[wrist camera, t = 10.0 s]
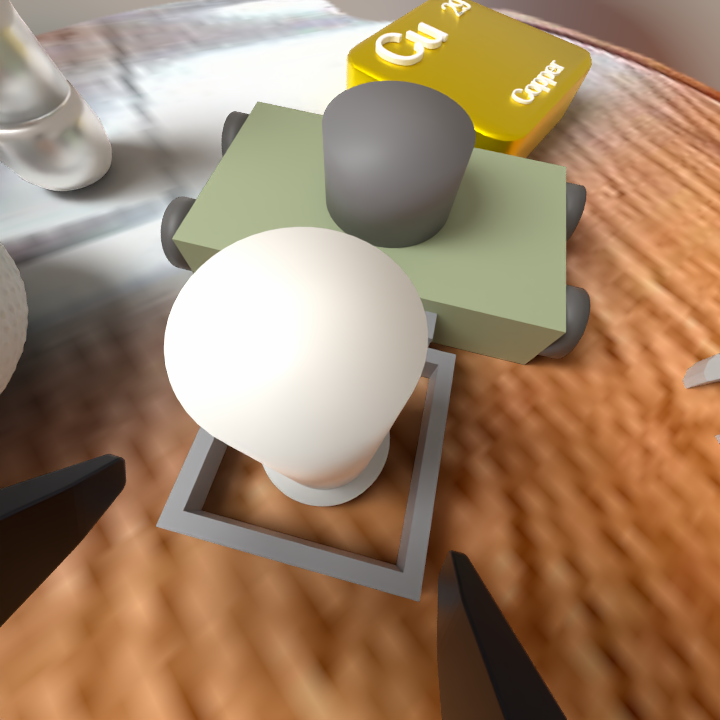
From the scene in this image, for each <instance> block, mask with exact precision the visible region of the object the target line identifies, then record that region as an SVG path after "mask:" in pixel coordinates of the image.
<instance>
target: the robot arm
mask: <svg viewBox="0 0 720 720" xmlns="http://www.w3.org/2000/svg"><path fill="white" fill-rule="evenodd" d="M125 483H126V469H125V460H124V459H123V458H122V457H119V456H115V455H111V454H107V455H103V456H100V457H97V458H94V459H91V460H88V461H85V462H82V463H79V464H76V465H73V466H70V467H67V468H64V469H60V470H57V471H54V472H51V473H48V474H45V475H42V476H39V477H36V478H33V479H30V480H27V481H24V482H21V483H18V484H15V485H12V486H9V487H5V488H2V489H0V627H1V626H2V625H3V624H4V623H5V622H6V621H7V620H8V619H9V618H10V616H11V615H12V614H13V613H14V612H15V611H16V610H17V609H18V608H19V607H20V606H21V605H22V604H23V603H24V602H25V601H26V600H27V598H28V597H29V596H30V595H31V594H32V593H33V592H34V591H35V590H36V589H37V588H38V587H39V586H40V585H41V584H42V583H43V582H44V581H45V579H46V578H47V577H48V576H49V575H50V574H51V573H52V572H53V571H54V570H55V569H56V568H57V567H58V566H59V565H60V564H61V563H62V562H63V560H64V559H65V558H66V557H67V556H68V555H69V554H70V553H71V552H72V551H73V550H74V549H75V548H76V547H77V545H78V544H79V543H80V542H81V541H82V540H83V539H84V537H85V536H86V535H87V534H88V533H89V531H90V530H91V529H92V528H93V526H94V525H95V524H96V523H97V521H98V520H99V519H100V518H101V516H102V515H103V514H104V513H105V511H106V510H107V509H108V508H109V506H110V505H111V504H112V503H113V501H114V500H115V499H116V498H117V496H118V495H119V494H120V493H121V491H122V490H123V488H124V486H125ZM437 661H438V675H439V689H440V702H441V716H442V720H567V718H566V716H565V715H564V713H563V712H562V710H561V708H560V707H559V705H558V703H557V702H556V700H555V699H554V697H553V695H552V694H551V692H550V690H549V689H548V687H547V685H546V684H545V682H544V681H543V679H542V677H541V676H540V674H539V672H538V671H537V669H536V668H535V666H534V664H533V663H532V661H531V659H530V658H529V656H528V654H527V653H526V651H525V650H524V648H523V646H522V645H521V643H520V641H519V640H518V638H517V637H516V635H515V633H514V632H513V630H512V628H511V627H510V625H509V624H508V622H507V620H506V619H505V617H504V615H503V614H502V612H501V610H500V609H499V607H498V606H497V604H496V602H495V601H494V599H493V597H492V596H491V594H490V593H489V591H488V589H487V588H486V586H485V584H484V583H483V581H482V579H481V578H480V576H479V575H478V573H477V571H476V570H475V568H474V566H473V565H472V563H471V562H470V560H469V558H468V557H467V556H466V555H465V554H464V553H460V552H457V551H453V550H451V551H449V552H448V554H447V556H446V558H445V561H444V563H443V565H442V568H441V570H440V573H439V579H438V617H437Z"/></svg>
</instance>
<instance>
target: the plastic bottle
mask: <svg viewBox="0 0 720 720" xmlns="http://www.w3.org/2000/svg"><path fill="white" fill-rule="evenodd" d="M111 161H112V147H111V143H110V141H109V139H108V136H107V134H106V132H105V130H104V128H103V125H102V123H101V121H100V119H99V118H98V116H97V115H96V114H95V112H94V111H93V110H92V109H91V107H90V106H89V105H88V103H87V102H86V101H85V100H84V98H83V97H82V96H81V95H80V94H79V93H78V91H77V90H76V89H75V88H74V87H73V86H72V85H71V83H70V82H69V81H68V80H66V78H65V77H64V76H63V74H62V73H61V71H60V70H59V69H58V67H57V66H56V65H55V63H54V62H53V61H52V59H51V58H50V56H49V55H48V54H47V52H46V51H45V50H44V48H43V47H42V46H41V44H40V43H39V41H38V40H37V39H36V37H35V36H34V35H33V33H32V32H31V31H30V29H29V28H28V26H27V25H26V24H25V22H24V21H23V20H22V18H21V17H20V16H19V14H18V13H17V11H16V10H15V8H14V7H13V5H12V3H11V2H10V0H0V162H2V163H3V164H4V165H6V166H7V167H8V168H9V169H11V170H12V171H13V172H14V173H16V174H17V175H18V176H19V177H21V178H22V179H23V180H25V181H27V182H29V183H31V184H34V185H37V186H39V187H42V188H45V189H48V190H53V191H71V190H77V189H80V188H84V187H86V186H89V185H91V184H93V183H95V182H96V181H98V180H99V179H100V178H102V177H103V176H104V175H105V174H106V172H107V171H108V170H109V168H110V166H111Z"/></svg>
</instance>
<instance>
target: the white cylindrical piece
mask: <svg viewBox="0 0 720 720" xmlns="http://www.w3.org/2000/svg"><path fill="white" fill-rule="evenodd" d="M427 348H428V327H427V320H426V315H425V311H424V308H423V304H422V302H421V299H420V297H419V295H418V292H417V290H416V289H415V287H414V285H413V284H412V282H411V280H410V279H409V277H408V276H407V275H406V274H405V272H404V271H403V270H402V269H401V268H400V267H399V266H398V265H397V264H396V263H395V262H394V261H393V260H392V259H391V258H390V257H389V256H387V255H386V254H385V253H383V252H382V251H381V250H379V249H378V248H376V247H374V246H373V245H371V244H369V243H368V242H366V241H363V240H361V239H359V238H357V237H355V236H352V235H349V234H346V233H343V232H339V231H335V230H330V229H325V228H316V227H289V228H280V229H274V230H269V231H265V232H261V233H258V234H255V235H251V236H249V237H247V238H244V239H242V240H239V241H237V242H235V243H233V244H231V245H230V246H228V247H226V248H224V249H223V250H221V251H220V252H218V253H217V254H215V255H214V256H212V257H211V258H210V259H209V260H208V261H206V262H205V263H204V264H203V265H202V266H201V267H200V268H199V269H198V270H197V271H196V272H195V273H194V274H193V275H192V276H191V277H190V279H189V280H188V281H187V283H186V284H185V286H184V287H183V288H182V290H181V291H180V293H179V295H178V297H177V299H176V301H175V303H174V304H173V307H172V310H171V313H170V315H169V318H168V322H167V327H166V331H165V341H164V356H165V366H166V370H167V373H168V377H169V381H170V383H171V386H172V388H173V390H174V393H175V395H176V397H177V398H178V400H179V401H180V403H181V405H182V406H183V408H184V409H185V411H186V412H187V413H188V414H189V415H190V416H191V417H192V418H193V420H194V421H195V422H196V423H197V424H198V425H199V426H201V427H202V428H203V429H204V430H206V431H207V432H208V433H209V434H211V435H212V436H214V437H215V438H217V439H219V440H221V441H222V442H224V443H226V444H227V445H229V446H231V447H233V448H235V449H236V450H238V451H240V452H242V453H244V454H246V455H247V456H249V457H251V458H253V459H255V460H257V461H258V462H260V463H262V464H263V467H264V469H265V471H266V473H267V475H268V477H269V478H270V480H271V481H272V482H273V484H274V485H275V486H276V487H277V488H278V489H279V490H280V491H281V492H283V493H284V494H285V495H287V496H288V497H290V498H292V499H293V500H296V501H298V502H301V503H303V504H307V505H312V506H333V505H338V504H342V503H345V502H347V501H350V500H352V499H354V498H355V497H357V496H358V495H360V494H361V493H363V492H364V491H365V490H366V489H367V488H369V487H370V486H371V485H372V483H373V482H374V481H375V480H376V479H377V477H378V476H379V474H380V473H381V471H382V469H383V467H384V465H385V462H386V459H387V456H388V451H389V446H390V432H389V430H390V428H391V427H392V425H393V423H394V422H395V420H396V419H397V417H398V415H399V414H400V412H401V410H402V409H403V407H404V406H405V404H406V402H407V401H408V399H409V398H410V396H411V394H412V393H413V391H414V389H415V387H416V385H417V383H418V381H419V379H420V377H421V374H422V371H423V367H424V364H425V361H426V354H427Z"/></svg>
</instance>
